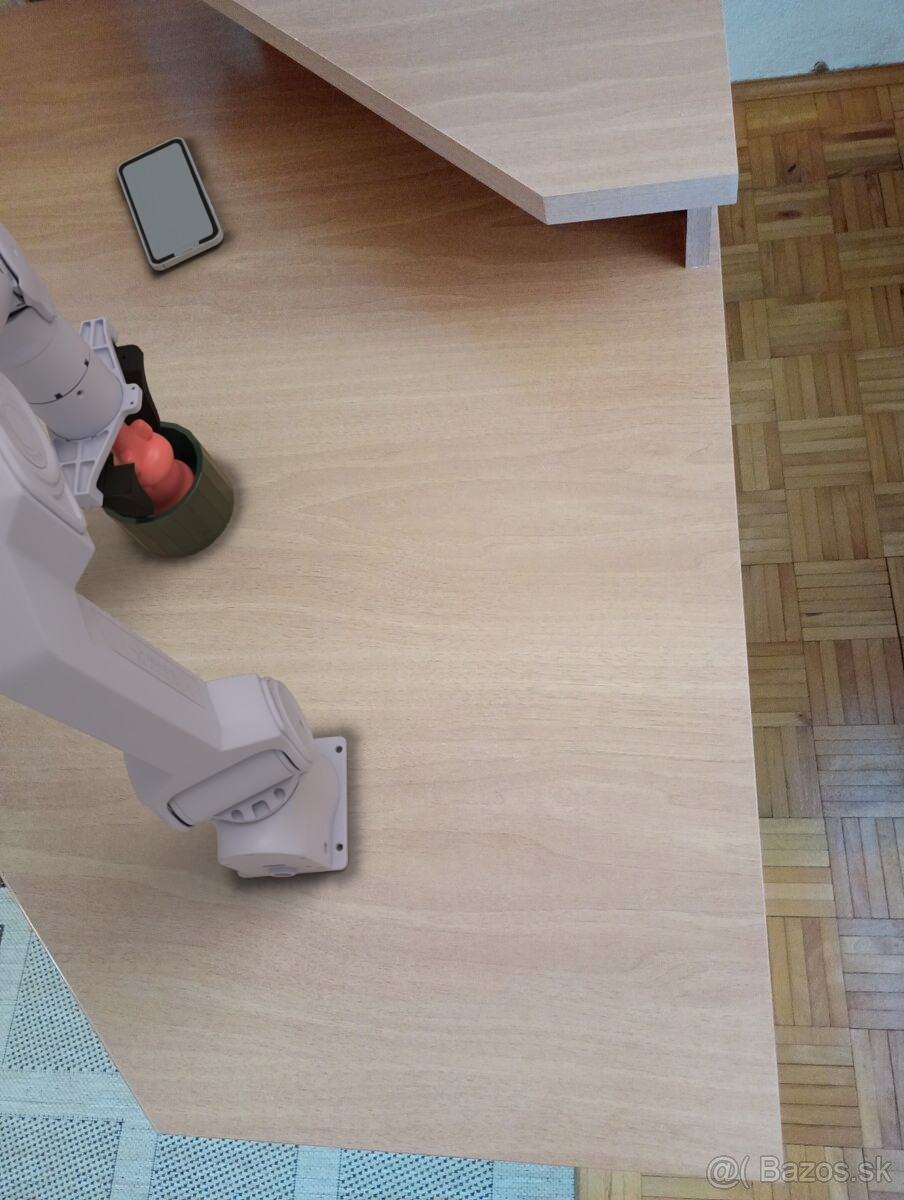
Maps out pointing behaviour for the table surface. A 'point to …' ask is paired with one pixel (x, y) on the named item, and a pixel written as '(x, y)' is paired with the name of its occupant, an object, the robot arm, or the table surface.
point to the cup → (184, 502)
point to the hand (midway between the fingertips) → (145, 468)
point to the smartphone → (169, 204)
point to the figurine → (152, 464)
